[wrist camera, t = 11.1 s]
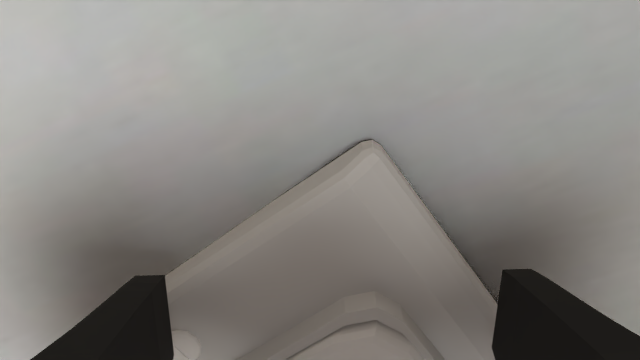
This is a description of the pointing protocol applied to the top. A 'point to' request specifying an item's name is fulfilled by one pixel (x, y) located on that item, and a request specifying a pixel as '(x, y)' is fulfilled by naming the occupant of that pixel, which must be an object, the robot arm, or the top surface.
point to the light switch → (333, 277)
